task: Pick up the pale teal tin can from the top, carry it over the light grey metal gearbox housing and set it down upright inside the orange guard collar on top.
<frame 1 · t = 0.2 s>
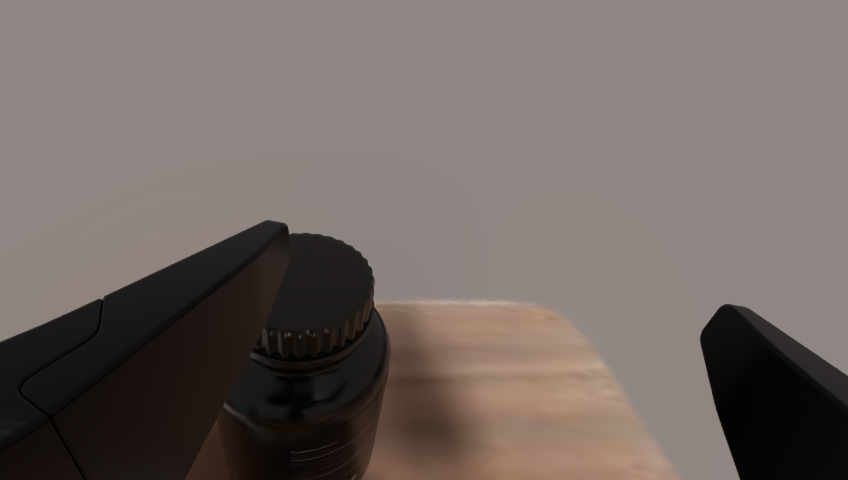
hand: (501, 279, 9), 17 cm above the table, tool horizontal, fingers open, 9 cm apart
supplement bottle: (303, 452, 22), on the table
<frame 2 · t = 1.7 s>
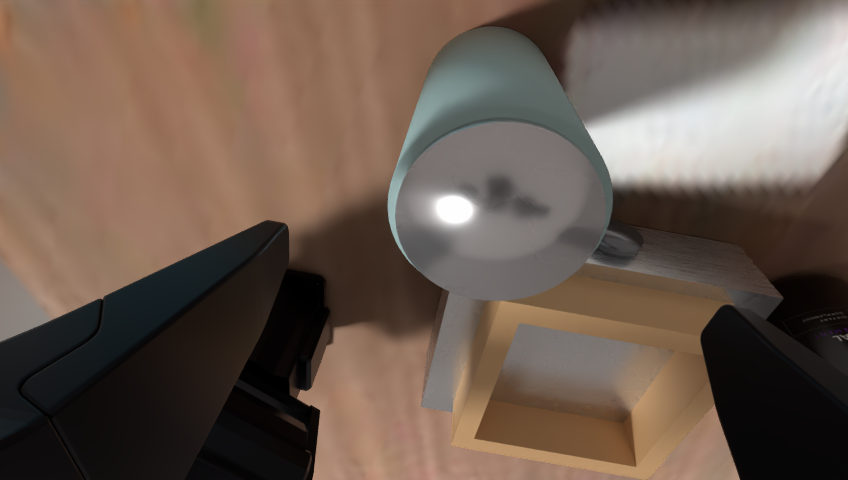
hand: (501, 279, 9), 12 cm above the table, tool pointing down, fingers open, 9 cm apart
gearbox: (562, 306, 26), on the table
supplement bottle: (783, 315, 25), on the table
tin can: (487, 95, 19), on the table
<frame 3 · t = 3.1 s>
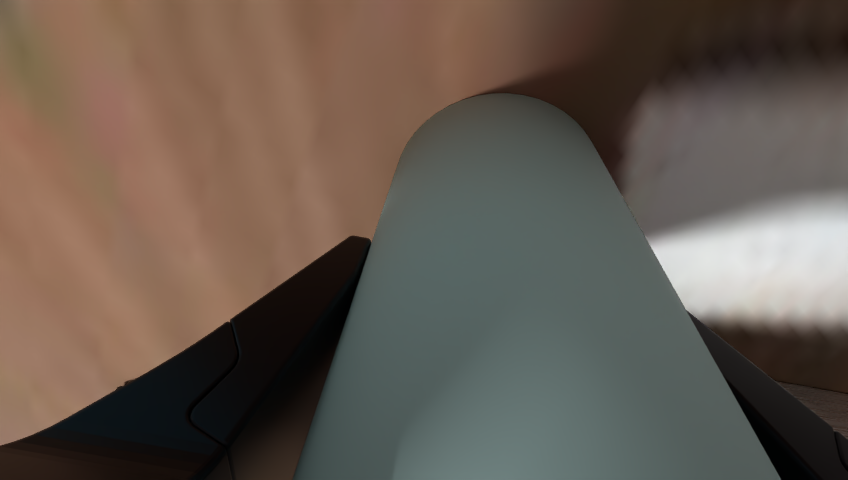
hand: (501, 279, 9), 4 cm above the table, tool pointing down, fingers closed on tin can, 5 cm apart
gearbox: (595, 454, 18), on the table
tin can: (494, 195, 12), on the table, touching gripper
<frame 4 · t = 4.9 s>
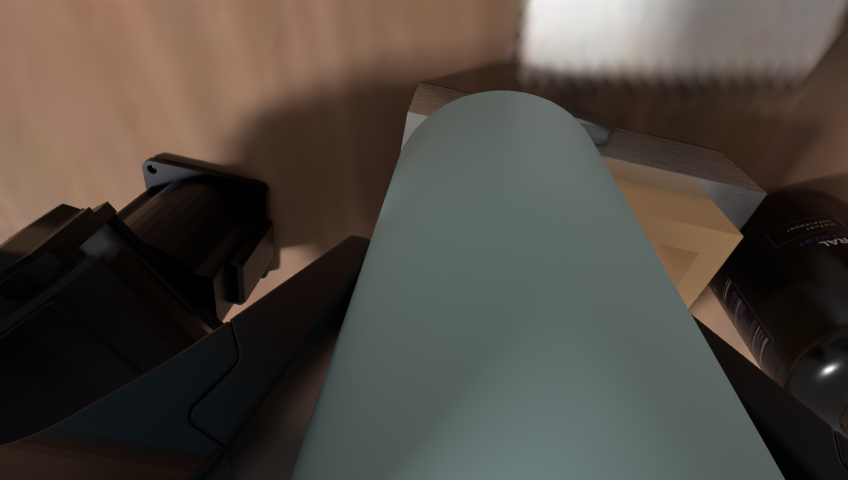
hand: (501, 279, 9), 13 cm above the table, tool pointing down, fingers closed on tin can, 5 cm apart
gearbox: (527, 225, 23), on the table
supplement bottle: (766, 241, 23), on the table
tin can: (494, 193, 12), point 9 cm above the table, touching gripper
when the fingers open (8 cm above the table, at t = 6.6 s): tin can stays where it is, resting on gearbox.
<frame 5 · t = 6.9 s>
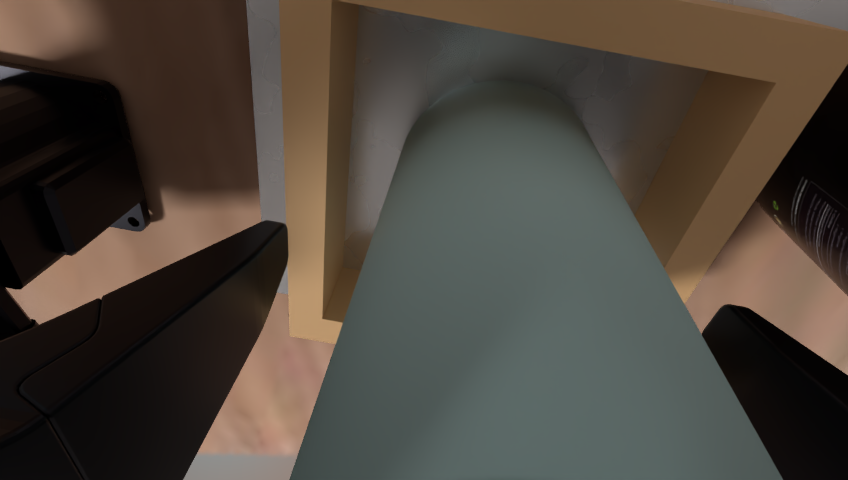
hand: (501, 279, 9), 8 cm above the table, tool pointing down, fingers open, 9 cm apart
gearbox: (490, 130, 16), on the table
supplement bottle: (847, 136, 15), on the table
tin can: (493, 178, 13), point 4 cm above the table, touching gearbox
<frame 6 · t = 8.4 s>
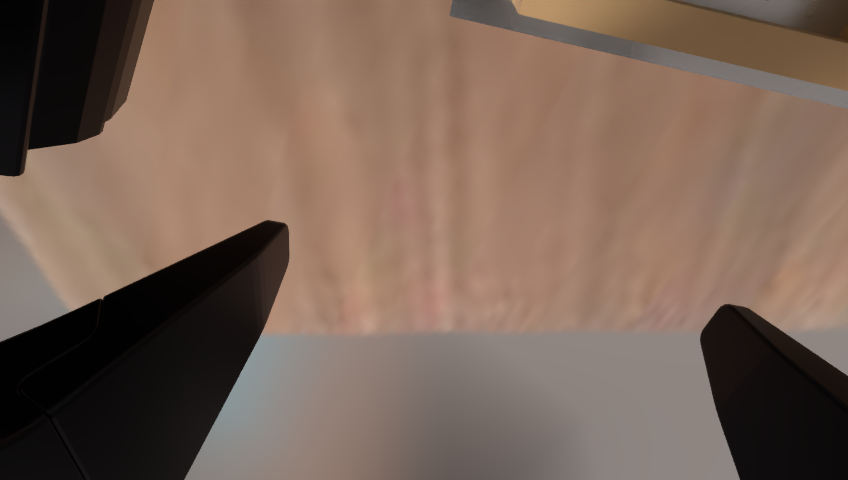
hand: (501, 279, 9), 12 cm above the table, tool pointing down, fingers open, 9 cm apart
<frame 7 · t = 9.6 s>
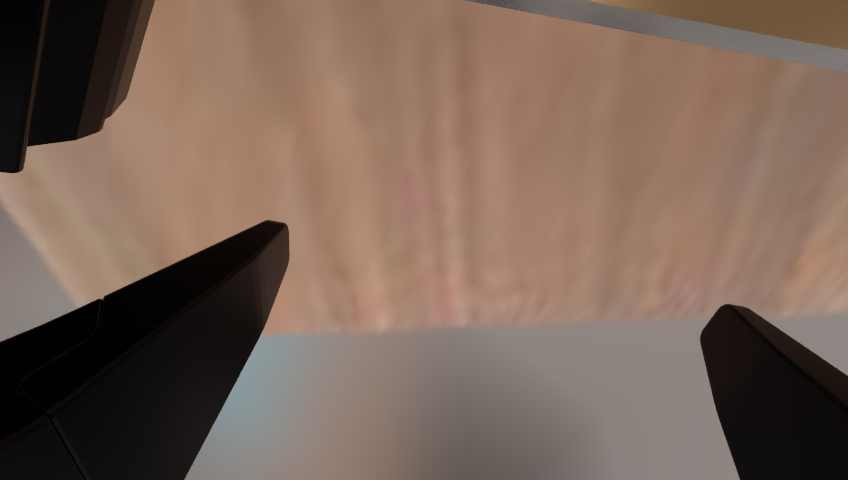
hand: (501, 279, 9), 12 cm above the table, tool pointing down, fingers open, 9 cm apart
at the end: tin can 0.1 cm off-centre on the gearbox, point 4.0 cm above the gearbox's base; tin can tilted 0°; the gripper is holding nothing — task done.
